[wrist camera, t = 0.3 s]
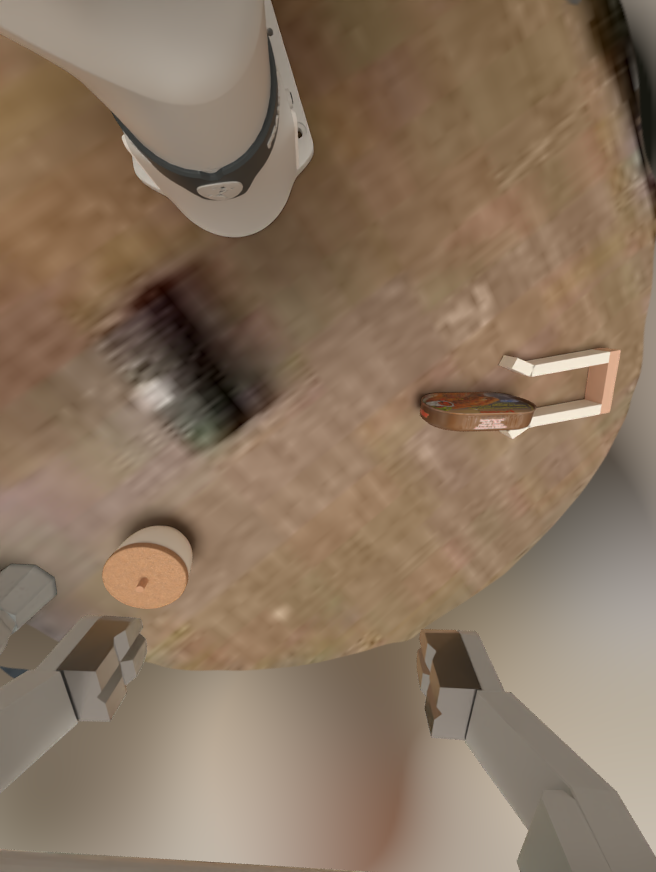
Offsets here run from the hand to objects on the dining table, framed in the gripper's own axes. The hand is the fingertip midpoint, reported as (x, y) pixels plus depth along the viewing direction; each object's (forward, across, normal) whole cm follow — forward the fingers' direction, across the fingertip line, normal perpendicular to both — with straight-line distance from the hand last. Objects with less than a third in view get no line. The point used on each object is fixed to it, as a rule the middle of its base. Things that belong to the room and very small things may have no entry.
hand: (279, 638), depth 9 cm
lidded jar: (+35, +25, +24) cm, 49 cm away
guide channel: (+42, -33, -1) cm, 54 cm away
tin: (+41, -20, +2) cm, 45 cm away
